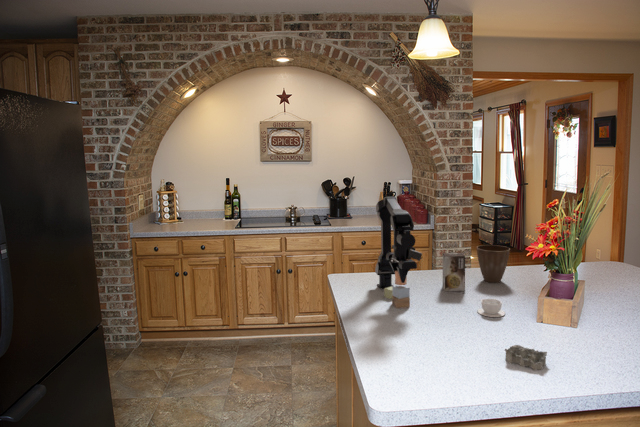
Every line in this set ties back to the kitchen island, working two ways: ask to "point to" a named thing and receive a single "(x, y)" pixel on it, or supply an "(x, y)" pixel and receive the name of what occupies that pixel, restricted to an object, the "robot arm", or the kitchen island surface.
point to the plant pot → (492, 261)
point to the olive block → (388, 292)
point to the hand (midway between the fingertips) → (400, 281)
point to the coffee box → (453, 272)
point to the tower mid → (400, 291)
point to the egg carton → (519, 352)
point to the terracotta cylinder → (398, 280)
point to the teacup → (491, 308)
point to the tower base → (400, 302)
